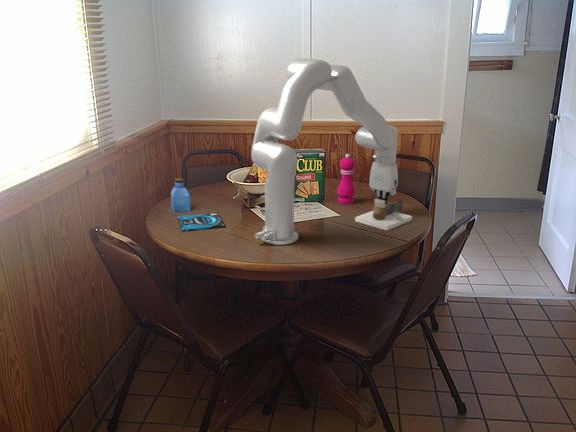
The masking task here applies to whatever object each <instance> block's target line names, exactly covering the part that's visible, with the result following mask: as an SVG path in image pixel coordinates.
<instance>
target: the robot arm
mask: <svg viewBox="0 0 576 432" xmlns="http://www.w3.org/2000/svg"><path fill="white" fill-rule="evenodd" d="M286 76H287V78H288V80H287V81H286V83H285V85H284V86H283V89H282V91H281V94H280V98H279V99H278V104H277V106H271V107H268V108H266V109H265V110H263V111H262V113H261V114H260V115H259V118H258V120H257V123H256V128H255V131H254V136H253V141H252V145H251V152H250V155H251V160H252V162H253V164H254V165H255V166H256V167H258V168H259V169H262V170H265V171H267V172H268V173H267V174H268V175H267V178H266V180H265V184H264V216H265V217H264V218H265V219H264V226H262V230H261V231H258V232H256V233H254V238H255V239H256V240H258V239H260V240H261V241H263V242H264V243H266V244H271V245H277V246H278V245H280V246H281V245H289V244H293V243H295V242H297V241H298V240H299V234H298V232H296V231H295V179H296V174H297V173H296V172H297V170H298V169H297V168H298V161H299V160H298V155H297V153H296V152H295V150H294V149H293V148H292V147H291V146H288V145H286V144H283V143H281V142H280V140H282V141H294V140H296V139H297V138H298V137H299V135H300V131H301V129H302V124H303V120H304V117H305V116H304V115H305V113H306V112H305V111H306V107H307V104H308V101H309V99H310V97H311V96H312V94H313V93H314V92H315V91H316V90H322V91H330V92H332V93H333V95H334V97H335V98H336V101H337V102H338V104H339V106H340V108H341V110H342V112H343V113H344V115H345V116H347V117H348V118H350V119H351V120H353V121H354V122H357V123H358V124H359V125H361V126H362V127H360V128H359V129H357V131H356V132H355V135H354V136H355V137H354V138H355V142H356V143H357V145H359V146H361V147H362V148H367V149H369V150H375V154H373V155H372V158H373V159H374V161H373V162H372V165H371V167H370V168H371V169H370V172H369V183H368V184H369V188H370V190H372V191H374V192H375V194H376V197H377V199H380V200H384V201H386V204H385V205H387V204H388V198H390V196H395V195H397V189H398V183H399V180H398V179H399V175H398V173H399V172H398V164H397V163H396V160H397V159H396V158H397V146H398V133H399V132H398V128H397V127H396V126H393V125H389V123H388V122H387V120H386V119H385V117H384V116H383V115H382V113H380V112H379V111H378V110H377V109H376V108H375V107H374V106H373V105H372V104H371V103H370V102H369V101H368V100H367V98H366V97H365V95H364V93H363V91H362V89H361V87H360V85H359V83H358V81H357V79H356V77H355V75H354V74H353V72H352V70H351V69H350V68H349V67H347V66H345V65H339V64H337V65H336V64H330V63H328V61H325V60H322V59H314V58H296V59H294V60H292V61H291V62H290V63H289V64H288V66H287V69H286Z"/></svg>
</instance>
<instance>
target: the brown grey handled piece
mask: <svg viewBox="0 0 576 432" xmlns="http://www.w3.org/2000/svg"><path fill="white" fill-rule="evenodd" d="M403 201H404V200H402V199H399V200H396V201H393V202H390V203H387V205H385V204H386V201H384V200H380V199H378V198H374V205H373V210H372V211H373V218H375V219H384V218H385V216H386V215H388V214H391V213H394V212H398V211H401V210H403Z"/></svg>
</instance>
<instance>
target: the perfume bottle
mask: <svg viewBox="0 0 576 432" xmlns="http://www.w3.org/2000/svg"><path fill="white" fill-rule="evenodd" d="M174 181H175V182H174V186H173V187H172V189H171V191H170V204H171V205H170V206H171V209H172V211H173V213H181V212H182V213H183V212H191V210H192V209H191V196H190V193H189V191H188V190H187V188H186V187H185V182H184V178H181V177H180V178H179V177H178V178H175V179H174Z"/></svg>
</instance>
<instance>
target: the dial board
mask: <svg viewBox="0 0 576 432" xmlns="http://www.w3.org/2000/svg"><path fill="white" fill-rule="evenodd" d="M412 220H413V216H412V215H410V214H405V213H401V212H398V211H396V212H394V213H391V214H388V215H386V216H385V218H384V219H375V218H373V210H371V211H368V212H366V213H362V214H360V215H358V216H355V217H354V222H357V223H361V224H363V225H364V224H365V225H367V226H370V227H373V228H374V227H375V228H377V229H381V230H384V231H389V230H392V229H394V228H396V227H399V226H401V225H403V224H406V223H408V222H410V221H412Z"/></svg>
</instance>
